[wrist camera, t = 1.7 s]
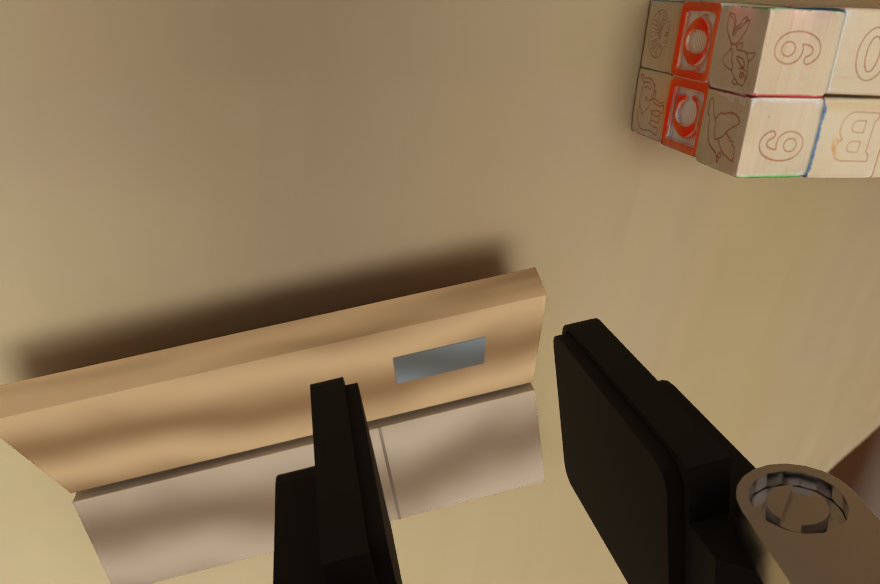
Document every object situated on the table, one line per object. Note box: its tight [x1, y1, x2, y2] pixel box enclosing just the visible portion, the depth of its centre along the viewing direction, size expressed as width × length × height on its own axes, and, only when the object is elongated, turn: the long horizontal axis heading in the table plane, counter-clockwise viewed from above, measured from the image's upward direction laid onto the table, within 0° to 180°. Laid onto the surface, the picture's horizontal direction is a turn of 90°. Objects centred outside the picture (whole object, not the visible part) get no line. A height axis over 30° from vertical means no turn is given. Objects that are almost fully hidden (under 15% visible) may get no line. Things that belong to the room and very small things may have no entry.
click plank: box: [0, 268, 547, 493], centre depth 34 cm, size 8×24×2 cm
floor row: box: [73, 383, 545, 584], centre depth 38 cm, size 7×24×2 cm, turn 99°
